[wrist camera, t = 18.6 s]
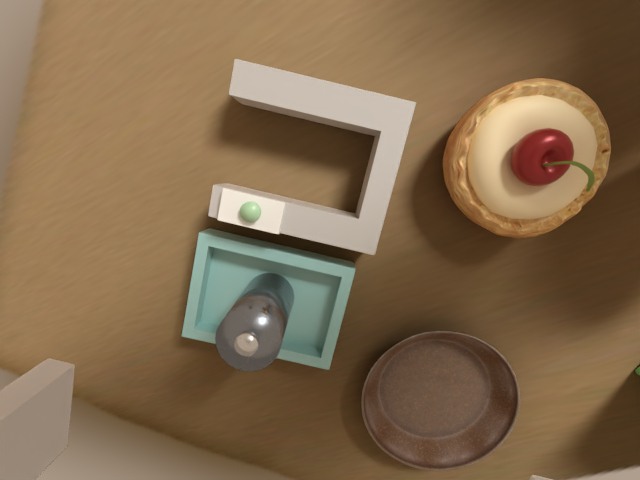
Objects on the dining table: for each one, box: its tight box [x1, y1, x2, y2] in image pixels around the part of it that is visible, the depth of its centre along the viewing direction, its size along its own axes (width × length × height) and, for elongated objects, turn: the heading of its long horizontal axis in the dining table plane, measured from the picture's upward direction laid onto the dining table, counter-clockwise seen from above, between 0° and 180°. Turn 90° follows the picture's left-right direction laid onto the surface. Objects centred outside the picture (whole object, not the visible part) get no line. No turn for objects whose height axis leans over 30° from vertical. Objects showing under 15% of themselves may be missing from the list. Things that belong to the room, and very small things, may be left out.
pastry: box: [443, 78, 611, 238], centre depth 27 cm, size 12×12×9 cm
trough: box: [182, 228, 356, 370], centre depth 33 cm, size 10×14×2 cm
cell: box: [215, 273, 294, 371], centre depth 29 cm, size 5×5×10 cm
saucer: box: [361, 331, 520, 471], centre depth 34 cm, size 15×15×3 cm
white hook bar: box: [208, 59, 416, 255], centre depth 29 cm, size 12×14×5 cm
